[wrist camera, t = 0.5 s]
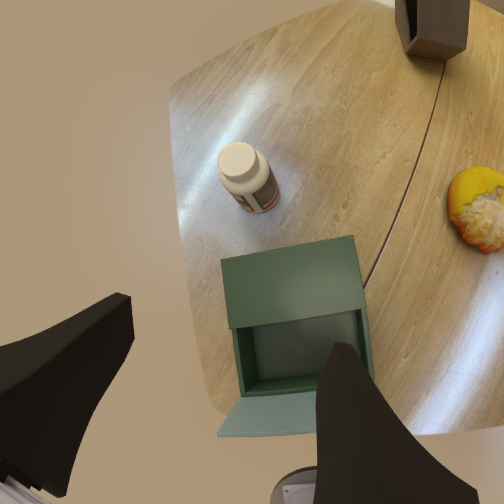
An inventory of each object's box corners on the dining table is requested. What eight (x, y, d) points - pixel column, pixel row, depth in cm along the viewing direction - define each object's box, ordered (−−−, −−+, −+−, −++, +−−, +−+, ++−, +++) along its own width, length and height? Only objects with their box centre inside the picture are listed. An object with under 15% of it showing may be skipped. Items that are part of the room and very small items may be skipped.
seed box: (366, 368, 31) (375, 382, 24) (256, 383, 34) (238, 399, 27) (348, 249, 34) (353, 233, 27) (240, 268, 37) (220, 258, 30)
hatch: (375, 380, 24) (375, 384, 24) (239, 397, 27) (239, 401, 27) (388, 416, 17) (388, 420, 17) (216, 433, 20) (217, 437, 20)
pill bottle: (274, 170, 38) (257, 129, 29) (284, 207, 37) (268, 174, 28) (235, 181, 39) (207, 145, 30) (242, 218, 38) (213, 190, 29)
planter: (390, -13, 35) (405, -67, 17) (427, -7, 33) (456, -54, 15) (399, 60, 41) (427, 27, 23) (437, 67, 39) (480, 41, 21)
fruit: (443, 256, 30) (467, 218, 24) (435, 187, 35) (449, 145, 28) (513, 264, 27) (544, 231, 20) (499, 198, 32) (520, 161, 25)
